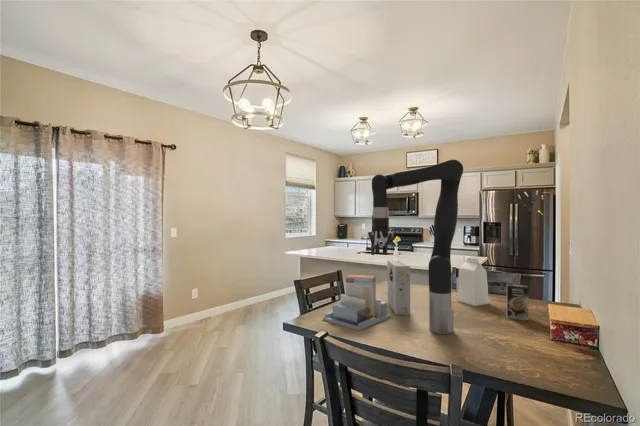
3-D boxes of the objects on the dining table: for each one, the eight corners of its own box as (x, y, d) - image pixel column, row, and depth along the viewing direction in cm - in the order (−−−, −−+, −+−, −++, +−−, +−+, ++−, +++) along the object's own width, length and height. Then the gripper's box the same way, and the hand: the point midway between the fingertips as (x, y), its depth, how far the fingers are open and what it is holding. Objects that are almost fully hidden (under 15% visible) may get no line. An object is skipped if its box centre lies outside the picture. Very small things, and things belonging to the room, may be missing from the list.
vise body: (390, 317, 159) (390, 299, 159) (358, 330, 140) (358, 310, 140) (355, 308, 174) (355, 292, 174) (322, 319, 156) (322, 301, 156)
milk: (457, 300, 188) (456, 257, 189) (471, 298, 193) (470, 255, 194) (474, 306, 178) (474, 259, 178) (488, 303, 182) (488, 258, 183)
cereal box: (410, 314, 163) (410, 266, 163) (395, 314, 163) (395, 266, 163) (400, 303, 184) (400, 260, 185) (387, 303, 185) (387, 260, 185)
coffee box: (507, 318, 156) (506, 285, 156) (506, 314, 162) (505, 283, 162) (529, 321, 152) (528, 287, 152) (527, 317, 157) (527, 284, 157)
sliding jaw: (369, 323, 149) (369, 300, 149) (360, 327, 144) (360, 303, 144) (339, 314, 162) (338, 293, 162) (329, 318, 157) (329, 295, 157)
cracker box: (376, 317, 158) (376, 275, 159) (373, 321, 153) (372, 277, 153) (350, 314, 164) (349, 273, 165) (345, 317, 159) (345, 275, 159)
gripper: (398, 216, 148) (398, 253, 148) (372, 217, 158) (373, 251, 157) (389, 217, 142) (389, 255, 142) (363, 217, 152) (364, 253, 152)
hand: (381, 253), depth 150 cm, fingers open, 3 cm apart
